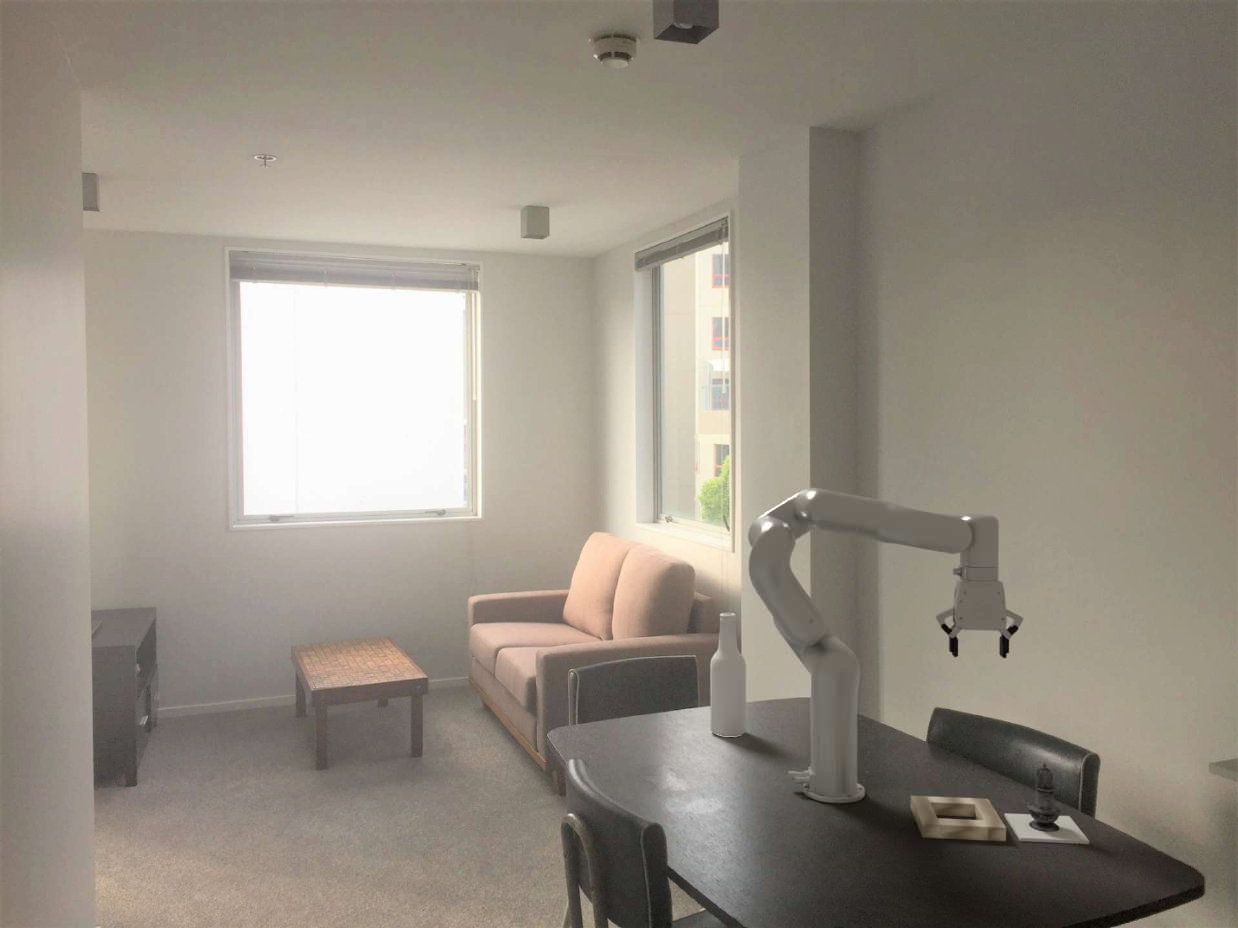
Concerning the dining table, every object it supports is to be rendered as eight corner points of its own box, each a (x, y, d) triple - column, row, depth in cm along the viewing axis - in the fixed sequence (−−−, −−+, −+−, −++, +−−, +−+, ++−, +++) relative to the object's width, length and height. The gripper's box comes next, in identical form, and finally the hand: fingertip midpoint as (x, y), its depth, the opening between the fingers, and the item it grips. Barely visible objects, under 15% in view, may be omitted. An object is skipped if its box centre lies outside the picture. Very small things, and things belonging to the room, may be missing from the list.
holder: (922, 837, 188) (922, 823, 188) (910, 807, 202) (910, 795, 202) (1005, 841, 186) (1006, 827, 186) (987, 811, 200) (987, 798, 200)
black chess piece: (1064, 833, 187) (1064, 769, 187) (1030, 831, 188) (1031, 767, 188) (1057, 821, 193) (1057, 759, 193) (1024, 819, 194) (1024, 757, 194)
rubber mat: (1020, 840, 186) (1020, 837, 186) (1004, 816, 198) (1004, 813, 197) (1089, 843, 184) (1089, 840, 184) (1069, 818, 196) (1069, 815, 196)
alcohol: (751, 731, 255) (751, 612, 254) (737, 740, 247) (736, 618, 247) (719, 726, 260) (719, 609, 259) (704, 734, 252) (704, 615, 251)
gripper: (939, 576, 208) (939, 659, 208) (1027, 577, 205) (1027, 661, 206) (933, 571, 215) (932, 651, 216) (1018, 572, 213) (1017, 653, 213)
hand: (978, 656), depth 211 cm, fingers open, 9 cm apart
